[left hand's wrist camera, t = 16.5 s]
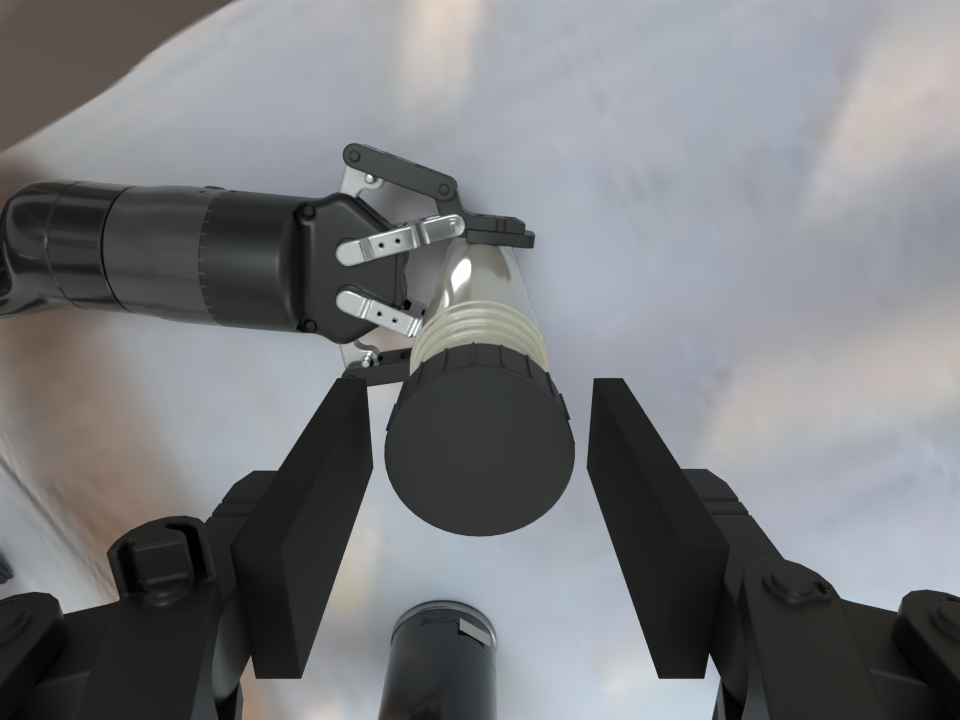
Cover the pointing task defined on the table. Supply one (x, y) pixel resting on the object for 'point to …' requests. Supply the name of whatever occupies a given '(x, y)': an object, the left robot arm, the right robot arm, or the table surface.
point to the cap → (479, 441)
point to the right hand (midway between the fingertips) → (525, 286)
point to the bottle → (479, 305)
